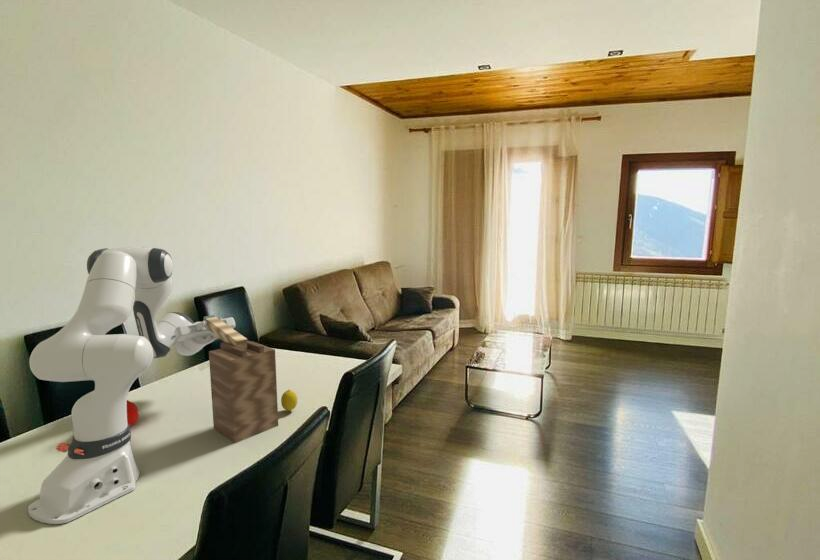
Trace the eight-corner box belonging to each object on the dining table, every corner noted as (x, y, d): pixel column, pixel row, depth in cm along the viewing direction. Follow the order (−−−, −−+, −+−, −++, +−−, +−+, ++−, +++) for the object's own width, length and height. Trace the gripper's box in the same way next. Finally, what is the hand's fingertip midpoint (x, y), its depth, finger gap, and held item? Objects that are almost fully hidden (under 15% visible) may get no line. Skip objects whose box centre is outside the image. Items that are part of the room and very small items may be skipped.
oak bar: (247, 349, 138) (247, 339, 137) (236, 351, 136) (237, 341, 135) (213, 324, 153) (213, 315, 152) (203, 326, 150) (203, 316, 149)
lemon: (293, 415, 149) (292, 393, 148) (278, 413, 150) (277, 392, 149) (300, 408, 154) (299, 387, 153) (286, 407, 155) (285, 386, 154)
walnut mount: (234, 443, 130) (229, 354, 126) (213, 428, 139) (208, 345, 135) (278, 425, 141) (274, 343, 137) (256, 413, 150) (252, 335, 147)
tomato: (78, 439, 132) (75, 412, 131) (108, 420, 144) (106, 396, 143) (121, 440, 131) (119, 413, 130) (148, 421, 144) (146, 396, 143)
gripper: (166, 331, 150) (179, 318, 142) (224, 321, 166) (238, 308, 157) (171, 348, 149) (184, 335, 140) (228, 336, 164) (243, 324, 156)
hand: (213, 321), depth 149 cm, fingers closed on oak bar, 4 cm apart
